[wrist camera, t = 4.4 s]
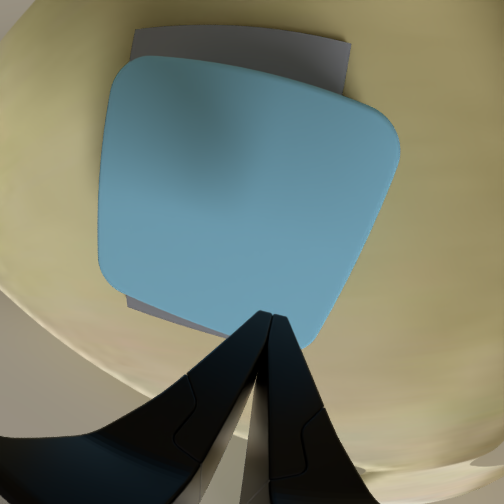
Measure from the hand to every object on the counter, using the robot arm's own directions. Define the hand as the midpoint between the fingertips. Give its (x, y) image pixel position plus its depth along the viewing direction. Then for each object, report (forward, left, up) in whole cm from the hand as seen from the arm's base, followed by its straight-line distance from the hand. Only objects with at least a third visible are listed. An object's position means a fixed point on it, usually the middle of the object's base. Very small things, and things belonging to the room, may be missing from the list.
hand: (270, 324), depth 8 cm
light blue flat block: (-3, 0, -6) cm, 7 cm away
